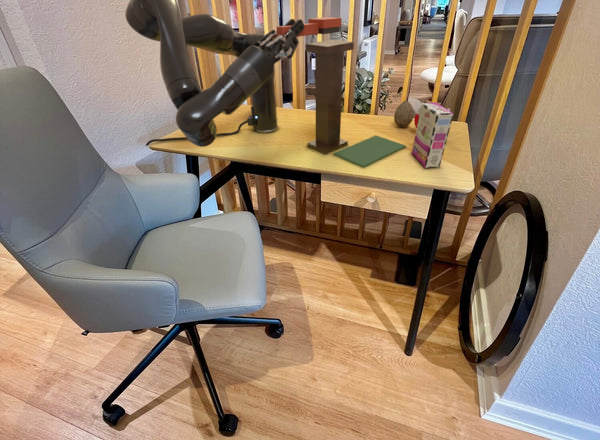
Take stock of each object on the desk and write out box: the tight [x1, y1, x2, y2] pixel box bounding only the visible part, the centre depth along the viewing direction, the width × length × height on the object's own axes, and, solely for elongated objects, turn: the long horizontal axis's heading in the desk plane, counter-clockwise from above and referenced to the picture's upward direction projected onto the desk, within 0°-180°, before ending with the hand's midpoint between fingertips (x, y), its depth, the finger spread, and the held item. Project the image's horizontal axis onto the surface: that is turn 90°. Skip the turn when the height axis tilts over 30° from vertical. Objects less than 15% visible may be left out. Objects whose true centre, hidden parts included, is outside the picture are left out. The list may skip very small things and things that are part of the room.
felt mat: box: [333, 135, 407, 168], centre depth 105 cm, size 22×13×1 cm, turn 130°
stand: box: [305, 39, 355, 156], centre depth 100 cm, size 11×9×32 cm
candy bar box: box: [411, 102, 455, 169], centre depth 93 cm, size 11×5×16 cm, turn 5°
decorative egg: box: [393, 100, 415, 128], centre depth 119 cm, size 7×7×10 cm
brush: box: [276, 16, 342, 39], centre depth 74 cm, size 17×6×3 cm, turn 130°
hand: (298, 23), depth 72 cm, fingers closed on brush, 2 cm apart
